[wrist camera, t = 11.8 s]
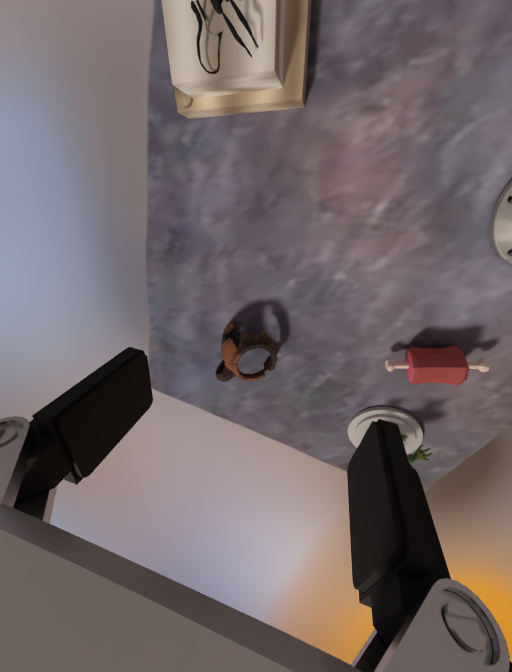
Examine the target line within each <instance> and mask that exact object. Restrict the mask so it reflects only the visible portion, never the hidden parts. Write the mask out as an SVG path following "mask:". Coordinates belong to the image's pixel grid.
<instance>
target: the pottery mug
mask: <svg viewBox="0 0 512 672" xmlns="http://www.w3.org/2000/svg"><path fill="white" fill-rule="evenodd" d="M234 328H235V326H234V321H232V322H231V323H230V324H228V326H227V327H226V328H225V330H224V333H223V337H222V345H221V354H222V359H223V361H222V362H221V363H220V365H219V366H218V368H217V370H216V377H217V379H218V380H220V381H222V382H226V381H229V380H230V379H231V378H233V377H235V376H237V377H238V378H240V379H242V380H246V381H254V380H259V379H261V378H263V377H265V373H264V372H265V371H267V370H269V371H271V370H273V369H274V367H275V365H276V362H277V347H276V344H274V341H273V340H271V339H270V338H269V337H268V336H267V335H266V334H265V333H264V332H263V331H262V330H261V334H260V335H259V337H258V339H257V340H256V339H255V337H254V336H253V335H251V334H249V333H247V332H246V331H245V332H241V333H240V337H241V338H240V343H239V347H238V348H237V346H236V345H235V344H234V341H233V339H231V338H228V339H227V334H228V333H229V332H230V331H231V330H232V329H234ZM256 348H262V349H265V350H267V351H269V352H270V354H271V358H268V359H267V360H266V361H265V363H264V367H265V368H264V369H263V370H261V371H259V372H257V373H253V374H244V373H242V372H240V371H239V370H238V367H237V365H238V361H239V359H240V357H241V356H242V355H243V354H244V353H246V352H247V351H249V350H252V349H256Z"/></svg>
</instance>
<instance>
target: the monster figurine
mask: <svg viewBox="0 0 512 672" xmlns="http://www.w3.org/2000/svg"><path fill="white" fill-rule="evenodd" d="M378 419H382V420H386V421H389V422H393V423H396V424H397V425H398V426H399V429H400V433H401V436H402V440H403V443H404V447H405V450H406V454H409V453H411V452H413V451H414V450H416V449H417V448H418V447H419V448H418V450H417V451H416V452H415V453H414V454H413V455H411V454H410V455H407V457H408V461H409V464H410V463H412V462H414V461H415V460H416V459H421V460H428V459H427V458H426V457H427V456H430V455H431V454H432V453H430V454H428V455H425V454H424V453H425V452H426V451H428V450H429V449H430V448H429V449H426V450H421V449H420V448H421V446H423V445H421V446H420V444H421V442H422V439H423V433H422V430H421V427H420V425H419V423H418V422H417V420H416V419H415V418H414V417H412V416H411V415H410V414H408V413H406V412H404V411H402V410H399V409H395V408H391V407H373V408H368V409H365V410H362V411H360V412H358V413H357V414H355V415H354V416H353V417H352V418H351V420H350V421H349V424H348V436H349V439H350V440H351V442H352V443H353V445H354V446H356V447H357V448H358V446H359V444H360V442H361V440H362V439H363V437H364V435H365V433H366V431H367V429H368V428H369V426H370V424H371V422H372V421H375V422H377V420H378ZM410 467H411V468H412V466H411V464H410Z"/></svg>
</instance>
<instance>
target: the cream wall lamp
mask: <svg viewBox="0 0 512 672" xmlns="http://www.w3.org/2000/svg"><path fill="white" fill-rule="evenodd" d="M191 1H194V3H195V5H196V6H197V8H198V10H199V7H198V5H197V3H196V0H162V8H163V16H164V23H165V31H166V39H167V47H168V55H169V63H170V71H171V79H172V84H173V85H174V86H175V92H174V94H175V99H176V101H177V109H178V113H180V114H181V115H183V116H185V117H187V118H188V119H191V118H201V117H211V116H221V115H232V114H242V113H252V112H262V111H272V110H282V109H292V108H303V107H305V94H306V79H307V64H308V49H309V34H310V20H311V5H312V0H241V1H240V0H233V1H234V2H235V4H236V5H237V6H238V8H239V9H240V11H241V12H242V14H243V15H244V17H245V19H246V20H247V22H248V24H249V26H250V28H251V31H252V35H253V37H254V39H255V41H256V42H257V44H258V48H257V47H256V45H255V43H254V42H253V40H252V38H251V36H250V34H249V33H248V31H247V30H246V28H245V27H244V25H243V24H242V22H241V21H240V20H239V18H238V16H237V14H236V12H235V10H234V8H233V7H232V5H231V3H230V0H229V2H227V1H225V0H223V2H222V4H221V6H222V9H223V12H224V13H225V14H226V16H227V17H228V19H229V20H230V22H231V23H232V25H233V26H234V27H235V30H236V32H237V33H238V35H239V36H240V38H241V39H242V41H243V42H244V44H245V45H246V47H247V48H248V50H249V51H250V53H251V55H252V58H251V57H250V55H249V54H248V52H247V51H246V49H245V48H244V47H242V46H241V45H240V44H239V43H238V42H237V41H236V39H235V38H234V36H233V34H232V33H231V31H230V29H229V27H228V25H227V23H226V21H225V20H224V17H223V15H222V14H218V13H217V12H216V11H215V10H214V8H213V6H212V4H211V1H210V0H198V1H199V3H200V5H201V7H202V8H203V11H204V13H205V17H206V24H205V20H204V18H203V16H202V14H201V12H200V10H199V12H200V14H201V18H202V21H203V25H202V32H201V37H200V42H199V44H200V55H201V63H202V64H203V65H204V67H205V68H206V69H207V70H208V71H210V72H214V71H217V68H218V42H219V37H218V36H217V35H215V34H219V33H220V32H222V35H221V39H220V45H219V63H220V67H219V71H218V72H217V73H216V74H209V73H207V72H206V71H205V70H204V69H203V67H202V66H201V64H200V61H199V58H198V55H197V34H198V27H199V25H198V21H197V18H196V14H195V13H194V12H193V10H192V8H191ZM206 25H207V28H206ZM207 29H208V30H209V31H210V32H211V33H212V34H211V33H210V32H209V31H208V30H207Z"/></svg>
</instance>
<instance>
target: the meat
mask: <svg viewBox="0 0 512 672" xmlns="http://www.w3.org/2000/svg"><path fill="white" fill-rule="evenodd" d="M385 364H386V368H387V370H388V371H392V370H393V369H394V368H406V372H407V375H408V378H409V380H410V383H412V384H418V383H427V382H433V383H447V384H453V385H459V384H461V383H463V382H464V381H465V380H467V375H468V371H469V369H478V370H480V371H481V372H486V371H489V364H488V363H487V361H486V360H485V359H480V360H479V361H478V362H467V361H466V358H465V355H464V354H463V352H462V351H461V350H460V349H459V348H458V347H457V346H451V347H444V348H418V347H410V348H408V350H407V352H406V355H405V362H393V361H392V360H390V359H389V360H386V362H385Z"/></svg>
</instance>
